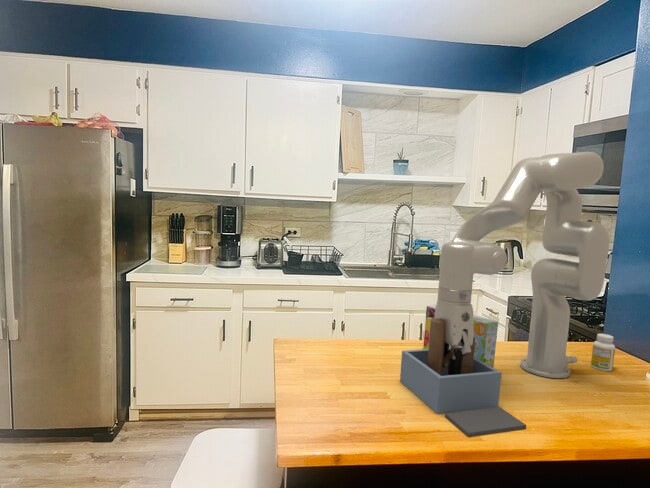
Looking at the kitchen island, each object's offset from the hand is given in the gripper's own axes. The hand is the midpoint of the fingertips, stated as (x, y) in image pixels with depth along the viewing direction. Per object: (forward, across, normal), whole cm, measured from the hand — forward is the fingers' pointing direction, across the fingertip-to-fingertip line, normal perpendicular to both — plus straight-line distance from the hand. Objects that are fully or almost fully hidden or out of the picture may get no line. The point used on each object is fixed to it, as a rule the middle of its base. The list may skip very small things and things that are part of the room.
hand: (448, 369), depth 103 cm
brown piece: (+6, 0, 0) cm, 6 cm away
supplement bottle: (+6, +6, -56) cm, 57 cm away
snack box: (+6, +16, -14) cm, 23 cm away
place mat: (+6, -14, 0) cm, 15 cm away
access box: (+6, 0, 0) cm, 6 cm away
